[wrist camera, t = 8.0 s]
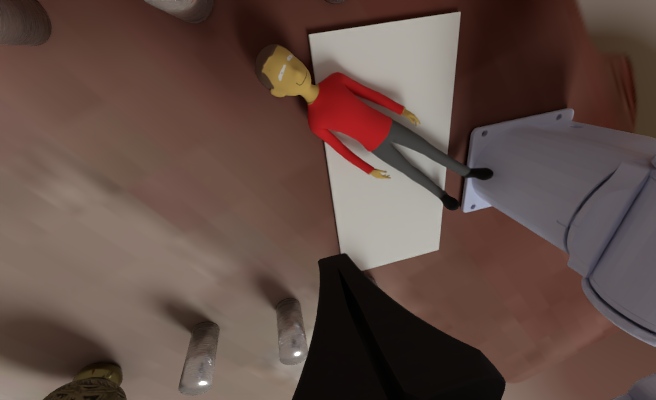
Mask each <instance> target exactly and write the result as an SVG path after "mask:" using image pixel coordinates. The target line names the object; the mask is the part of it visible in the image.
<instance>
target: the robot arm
mask: <svg viewBox="0 0 656 400" xmlns="http://www.w3.org/2000/svg"><path fill="white" fill-rule="evenodd" d="M573 115H574V110H573V109H569V108H566V109H561V110H557V111H552V112H548V113H543V114H538V115H534V116H529V117H524V118H520V119H515V120H510V121H506V122H501V123H496V124H492V125H487V126H482V127H478V128H475V129H474V130H473V131H472V133H471V137H470V145H469V152H468V159H467V166H468V167H470V168H489V169H491V170H492V171H493V176H492V178H490V179H488V180H480V179H477V178H465V182H464V189H463V197H462V204H461V210H462V211H463V212H465V213H466V212H471V211H474V210H478V209H482V208H486V207H490V206H494V207H495V208H497V209H498V210H500V211H502V212H503V213H505V214H506V215H508V216H509V217H511V218H513V219H514V220H516V221H517V222H519V223H520V224H522V225H524V226H525V227H527V228H528V229H530V230H531V231H533V232H535V233H536V234H538V235H539V236H541V237H542V238H544V239H546V240H547V241H549V242H550V243H552V244H553V245H555V246H557V247H558V248H560V249H561V250H563V251H564V252H566V253H568V254H569V255H570V258H569V261H568V264H567V266H569V267H570V268H572V269H573V270H575V271H576V272H578V273H579V274H581V275H582V276H583V278H582V289H583V291H584V293H585V295H586V297H587V298H588V299H589V301H590V302H591V303H592V304H593V305H594V306H595V307H596V308H597V309H598V311H599V312H601V313H602V314H603V315H604V316H605V317H606V318H607V319H609V320H610V321H611V322H612V323H614V324H615V325H616V326H618V327H619V328H621V329H622V330H624V331H625V332H627V333H629V334H631V335H632V336H634V337H636V338H638V339H640V340H642V341H644V342H646V343H648V344H650V345H652V346H655V347H656V139H655V138H651V137H647V136H642V135H637V134H632V133H628V132H623V131H618V130H613V129H608V128H603V127H598V126H593V125H588V124H583V123H579V122H574V121H572V118H573ZM483 131H484V134H483V135H482V133H483ZM318 264H319V270H320V289H319V301H318V309H317V316H316V321H315V326H314V331H313V336H312V340H311V344H310V347H309V351H308V355H307V358H306V361H305V364H304V367H303V371H302V374H301V377H300V380H299V383H298V385H297V388H296V390H295V393H294V396H293V398H292V400H501V398H502V396H503V393H504V390H505V383H506V382H505V380H504V378H503V377H502V375H501V374H500V373H499V371H498V370H497V369H496V367H495V366H494V365H493V364H492V363H491V362H490V361H489V360H488V359H487V357H486V356H485V355H484V354H483V353H482V352H481V351H480V350H478V349H476V348H474V347H472V346H470V345H468V344H466V343H463V342H461V341H459V340H457V339H455V338H453V337H451V336H449V335H448V334H446V333H444V332H442V331H440V330H438V329H437V328H435V327H433V326H432V325H430V324H428V323H427V322H425V321H423V320H422V319H420V318H419V317H417V316H415V315H414V314H412V313H411V312H410V311H408V310H407V309H405V308H404V307H402V306H401V305H400V304H398V303H397V302H396V301H394V300H393V299H392V298H391V297H389V296H388V295H387V294H386V293H385V292H383V291H382V290H381V289H380V288H379V287H378V286H377V285H375V284H374V283H373V282H372V281H371V280H370V279H369V278H368V277H367V276H366V275H365V274H364V273H363V272H362V271H361V270H360V269H359V268H358V267H357V265H356V264H355V263H354V262H353V261H352V260H351V258H350V257H349V256H348V254H346V253H342V254H338V255H334V256H331V257H327V258H323V259H320V260H319V261H318ZM611 400H656V373H654V374H652V375H649V376H647V377H644V378H642V379H640V380H638V381H637V382H635V383H634V384H633V385H632V386H631V388H630V389H629V390H628V393H627V394H624V395H621V396H619V397H616V398H614V399H611Z"/></svg>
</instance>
